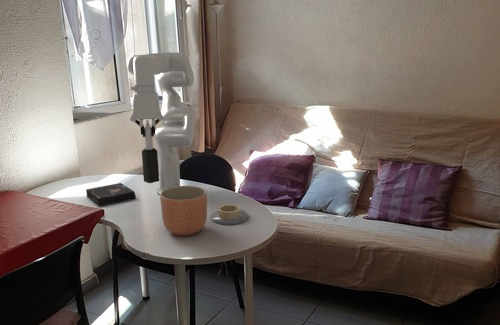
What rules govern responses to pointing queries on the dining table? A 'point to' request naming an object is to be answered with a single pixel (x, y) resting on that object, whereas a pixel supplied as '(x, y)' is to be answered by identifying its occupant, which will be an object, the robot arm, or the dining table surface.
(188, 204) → the planter
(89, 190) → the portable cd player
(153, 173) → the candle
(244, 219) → the candle holder
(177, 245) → the dining table surface
